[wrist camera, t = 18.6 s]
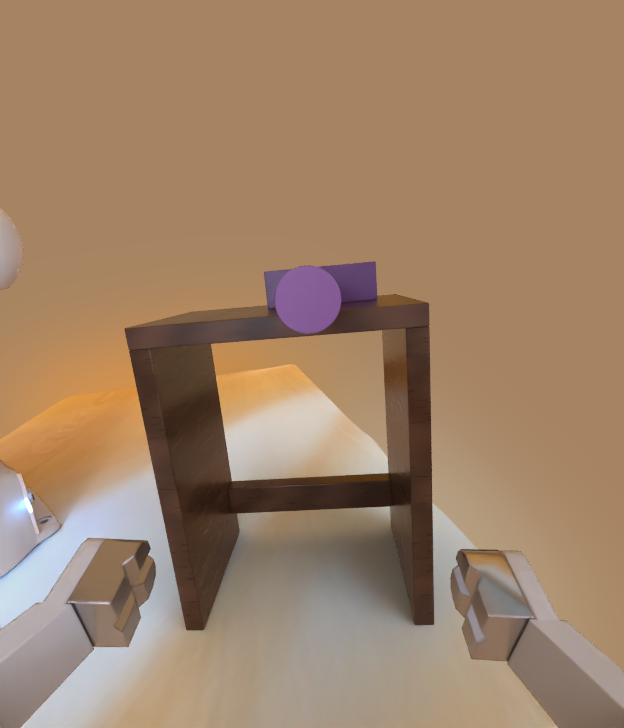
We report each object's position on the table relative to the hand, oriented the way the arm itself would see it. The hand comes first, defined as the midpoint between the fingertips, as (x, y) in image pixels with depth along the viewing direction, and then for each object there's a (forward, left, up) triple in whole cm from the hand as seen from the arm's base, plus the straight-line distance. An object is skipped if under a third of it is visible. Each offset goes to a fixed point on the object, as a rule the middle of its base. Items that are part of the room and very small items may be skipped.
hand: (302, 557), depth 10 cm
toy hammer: (-12, +11, +5) cm, 17 cm away
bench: (-18, +12, -20) cm, 29 cm away
